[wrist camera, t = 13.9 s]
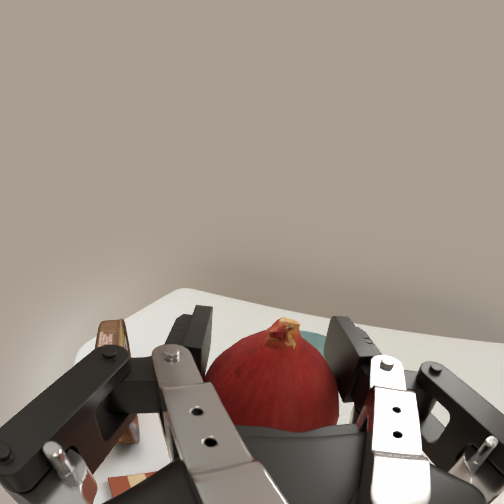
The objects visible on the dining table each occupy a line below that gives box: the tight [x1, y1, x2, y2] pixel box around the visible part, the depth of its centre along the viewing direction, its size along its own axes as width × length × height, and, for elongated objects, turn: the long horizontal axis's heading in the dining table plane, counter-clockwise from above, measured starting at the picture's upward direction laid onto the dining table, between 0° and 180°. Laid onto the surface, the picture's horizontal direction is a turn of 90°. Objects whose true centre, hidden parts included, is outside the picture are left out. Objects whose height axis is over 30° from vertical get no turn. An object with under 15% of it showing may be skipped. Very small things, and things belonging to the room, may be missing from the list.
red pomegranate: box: [204, 317, 339, 433], centre depth 11 cm, size 6×6×8 cm
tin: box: [95, 319, 139, 444], centre depth 24 cm, size 15×3×8 cm, turn 21°
